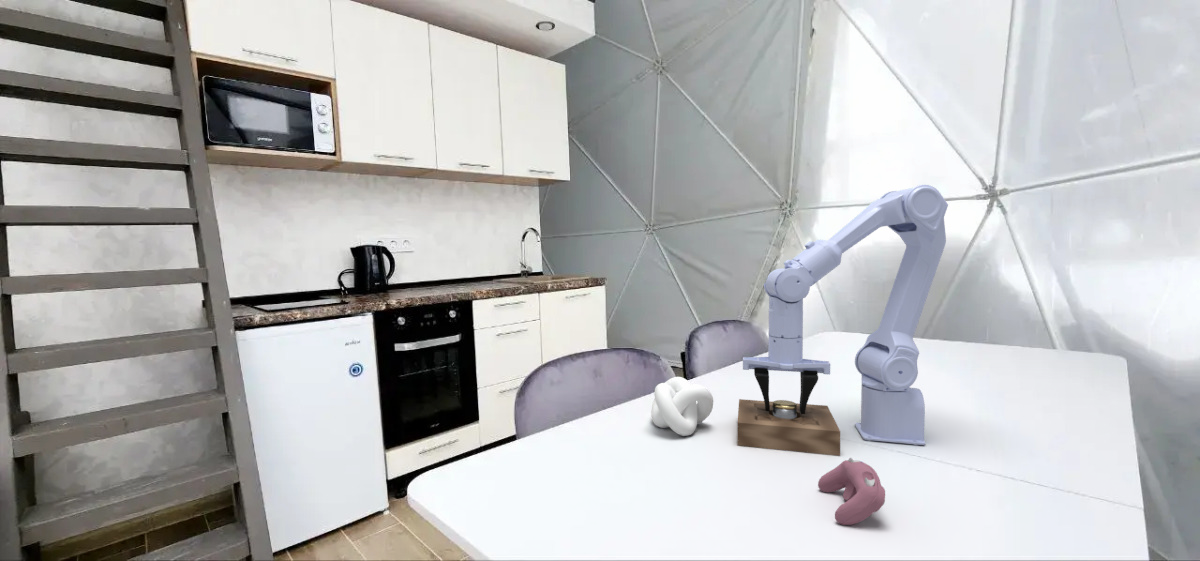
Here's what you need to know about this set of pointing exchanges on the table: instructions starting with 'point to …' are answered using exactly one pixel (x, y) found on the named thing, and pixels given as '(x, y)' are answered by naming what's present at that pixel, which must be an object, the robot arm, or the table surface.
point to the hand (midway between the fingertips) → (784, 410)
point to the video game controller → (854, 490)
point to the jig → (788, 429)
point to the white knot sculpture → (681, 405)
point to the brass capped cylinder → (784, 409)
